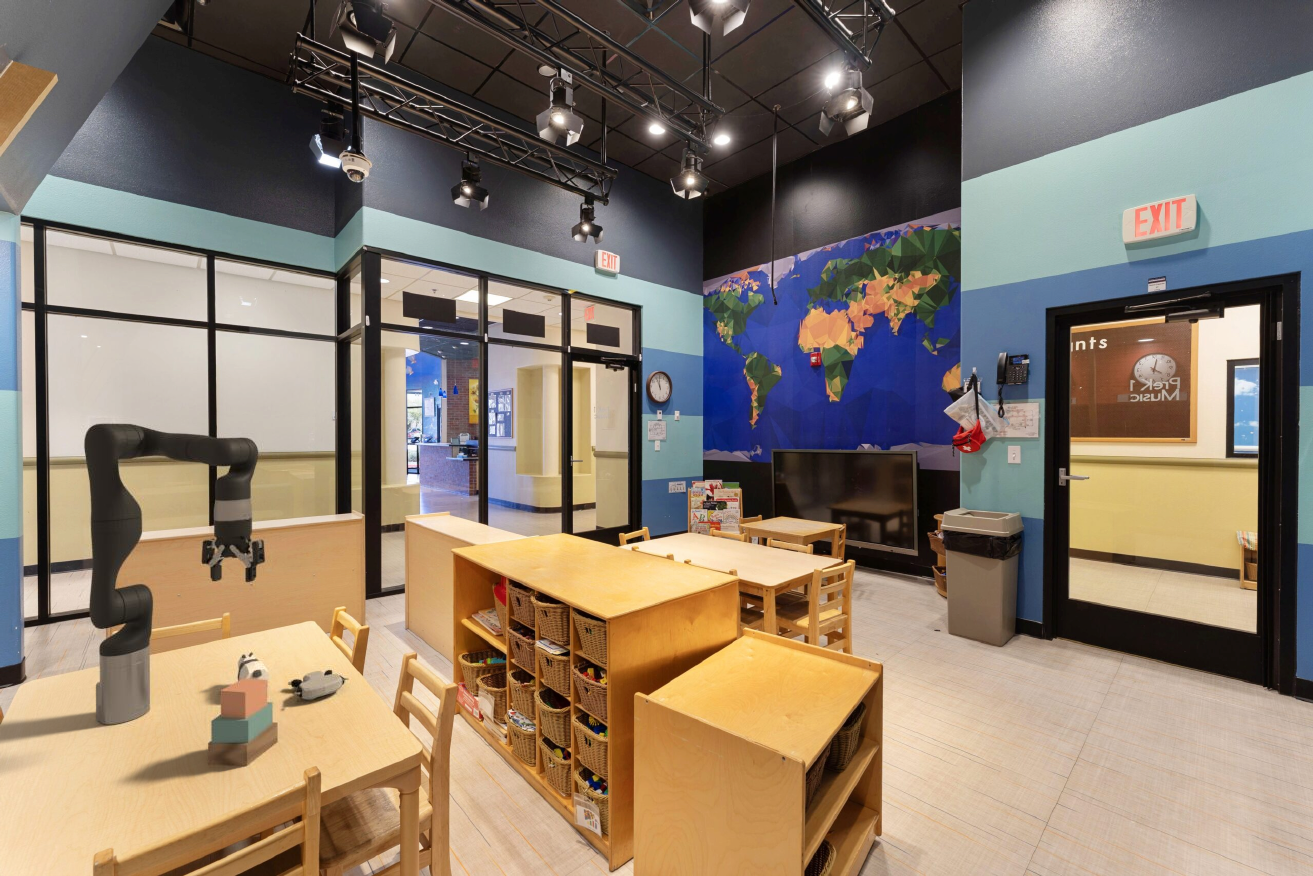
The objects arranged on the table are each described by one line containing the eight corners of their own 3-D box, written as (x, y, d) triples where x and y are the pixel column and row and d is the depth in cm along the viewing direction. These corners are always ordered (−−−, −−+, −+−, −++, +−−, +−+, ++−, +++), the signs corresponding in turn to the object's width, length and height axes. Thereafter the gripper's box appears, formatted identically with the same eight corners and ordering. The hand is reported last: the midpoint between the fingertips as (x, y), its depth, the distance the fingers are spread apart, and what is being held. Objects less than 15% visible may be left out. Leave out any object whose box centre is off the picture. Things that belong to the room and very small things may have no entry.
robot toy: (285, 693, 153) (299, 708, 143) (285, 677, 154) (299, 691, 143) (333, 679, 162) (350, 692, 152) (333, 664, 162) (349, 676, 152)
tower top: (211, 743, 120) (211, 720, 120) (237, 723, 128) (237, 702, 128) (248, 742, 120) (248, 720, 120) (272, 723, 128) (272, 702, 128)
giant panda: (270, 695, 150) (270, 661, 150) (245, 702, 146) (245, 667, 146) (255, 678, 160) (255, 646, 160) (232, 685, 156) (231, 652, 155)
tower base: (208, 765, 120) (208, 743, 120) (241, 741, 129) (241, 721, 129) (247, 767, 119) (246, 744, 119) (277, 743, 128) (277, 722, 128)
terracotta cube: (220, 717, 121) (220, 690, 121) (243, 703, 127) (243, 678, 127) (245, 718, 121) (245, 692, 121) (267, 705, 127) (267, 679, 126)
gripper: (192, 519, 132) (192, 584, 132) (249, 520, 131) (249, 586, 132) (217, 514, 139) (218, 576, 140) (272, 515, 139) (272, 577, 139)
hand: (233, 581), depth 136 cm, fingers open, 8 cm apart
